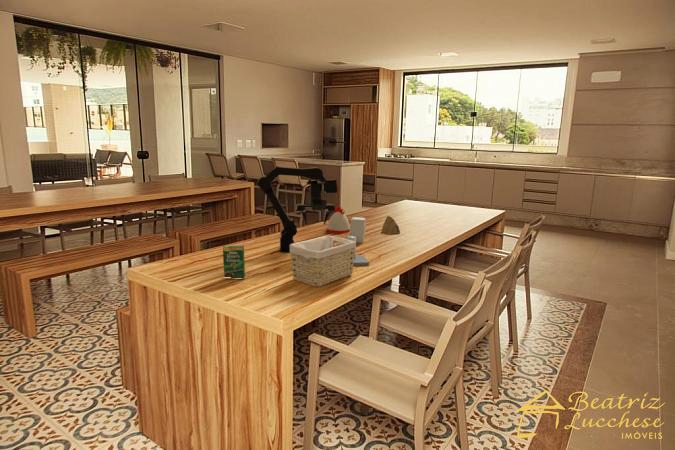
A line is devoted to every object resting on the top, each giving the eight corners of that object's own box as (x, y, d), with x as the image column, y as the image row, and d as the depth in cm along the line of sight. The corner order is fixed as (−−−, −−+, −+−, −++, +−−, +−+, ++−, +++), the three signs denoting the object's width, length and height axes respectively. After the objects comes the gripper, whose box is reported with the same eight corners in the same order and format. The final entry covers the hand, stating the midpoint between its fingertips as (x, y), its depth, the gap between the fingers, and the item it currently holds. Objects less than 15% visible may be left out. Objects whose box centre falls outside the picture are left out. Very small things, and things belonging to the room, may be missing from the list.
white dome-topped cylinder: (345, 259, 198) (345, 237, 196) (346, 256, 202) (346, 235, 200) (354, 259, 197) (355, 238, 195) (355, 257, 202) (356, 236, 200)
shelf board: (338, 266, 192) (338, 262, 192) (333, 258, 204) (333, 255, 203) (368, 265, 194) (369, 262, 194) (362, 258, 206) (362, 255, 206)
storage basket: (316, 289, 162) (317, 251, 159) (287, 279, 173) (287, 243, 170) (356, 275, 180) (357, 240, 177) (327, 267, 191) (328, 234, 188)
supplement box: (363, 243, 235) (364, 220, 233) (349, 241, 237) (350, 219, 234) (365, 239, 243) (366, 217, 240) (351, 238, 244) (352, 216, 241)
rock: (404, 228, 264) (390, 224, 270) (402, 219, 258) (387, 214, 264) (395, 241, 259) (381, 236, 265) (392, 231, 253) (378, 227, 259)
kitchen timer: (336, 227, 273) (336, 203, 270) (354, 230, 265) (355, 206, 262) (322, 231, 262) (323, 206, 259) (341, 234, 254) (341, 209, 251)
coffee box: (223, 279, 170) (222, 246, 168) (224, 277, 173) (224, 245, 170) (243, 280, 170) (243, 247, 168) (245, 277, 173) (244, 245, 170)
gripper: (298, 195, 203) (297, 228, 206) (337, 195, 206) (336, 227, 209) (296, 192, 213) (295, 223, 216) (333, 192, 217) (332, 223, 220)
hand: (315, 224), depth 215 cm, fingers open, 9 cm apart
